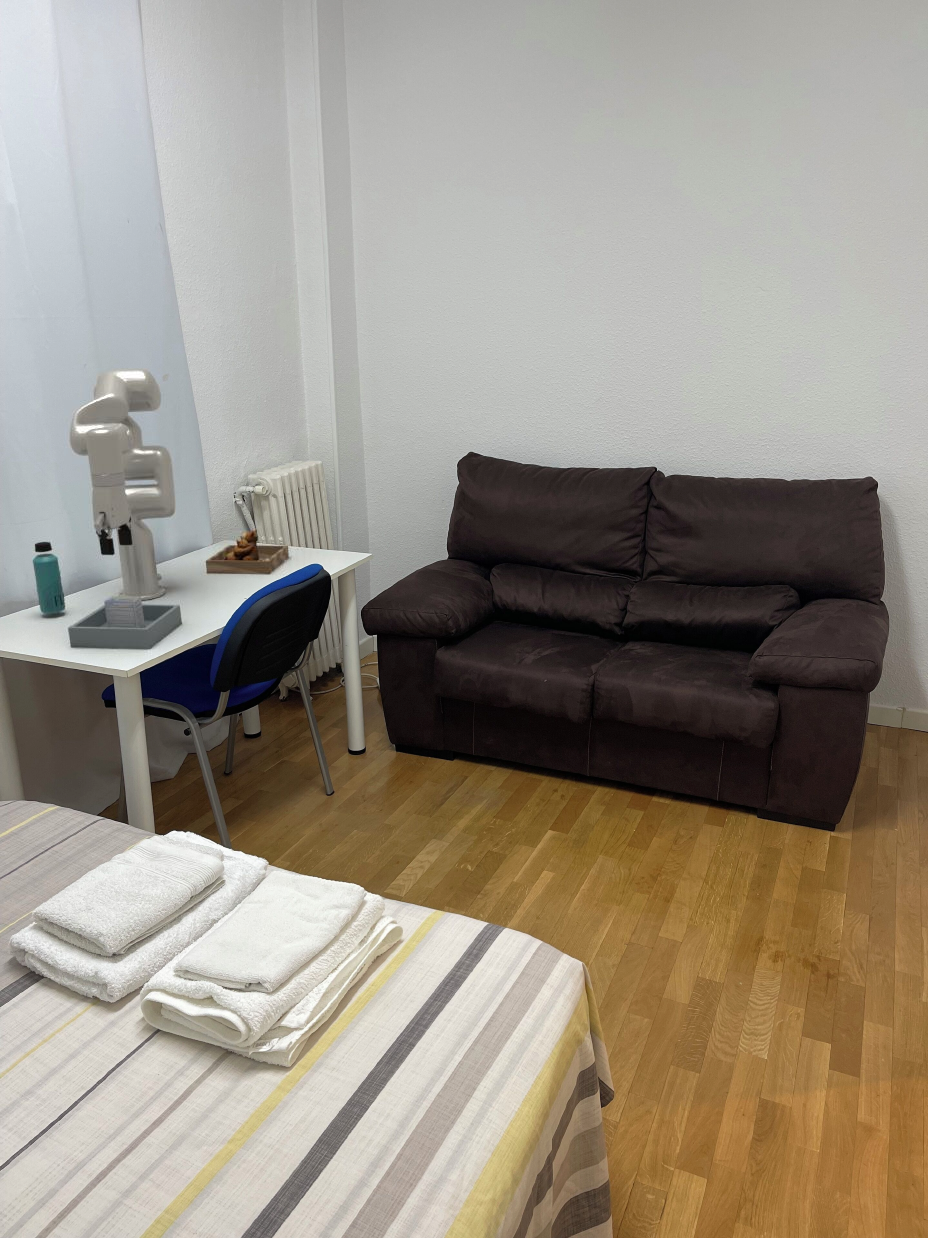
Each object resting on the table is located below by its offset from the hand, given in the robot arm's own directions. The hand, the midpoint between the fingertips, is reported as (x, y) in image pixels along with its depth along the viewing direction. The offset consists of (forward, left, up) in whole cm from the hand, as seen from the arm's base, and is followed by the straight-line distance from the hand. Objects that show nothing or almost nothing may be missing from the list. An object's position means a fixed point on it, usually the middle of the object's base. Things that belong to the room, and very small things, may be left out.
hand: (117, 549), depth 236 cm
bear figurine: (-67, +7, -23) cm, 71 cm away
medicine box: (0, 0, -21) cm, 21 cm away
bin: (0, 0, -22) cm, 22 cm away
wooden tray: (-70, +8, -22) cm, 74 cm away
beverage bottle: (-15, -28, -22) cm, 39 cm away
